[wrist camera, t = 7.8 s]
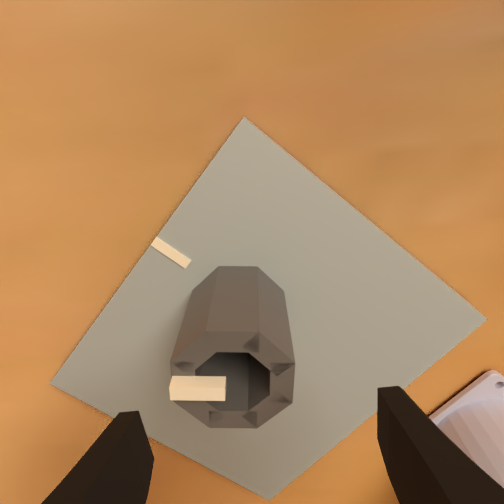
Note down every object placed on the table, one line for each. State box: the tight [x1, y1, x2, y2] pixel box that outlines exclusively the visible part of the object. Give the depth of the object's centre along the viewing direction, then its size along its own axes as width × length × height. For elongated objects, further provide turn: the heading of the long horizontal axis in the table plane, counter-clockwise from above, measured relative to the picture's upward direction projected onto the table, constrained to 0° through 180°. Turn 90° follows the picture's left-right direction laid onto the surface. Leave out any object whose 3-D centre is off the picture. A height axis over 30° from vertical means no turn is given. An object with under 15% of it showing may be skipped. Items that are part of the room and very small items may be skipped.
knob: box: [169, 266, 295, 429], centre depth 16 cm, size 5×5×6 cm
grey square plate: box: [50, 117, 488, 501], centre depth 19 cm, size 16×18×4 cm
